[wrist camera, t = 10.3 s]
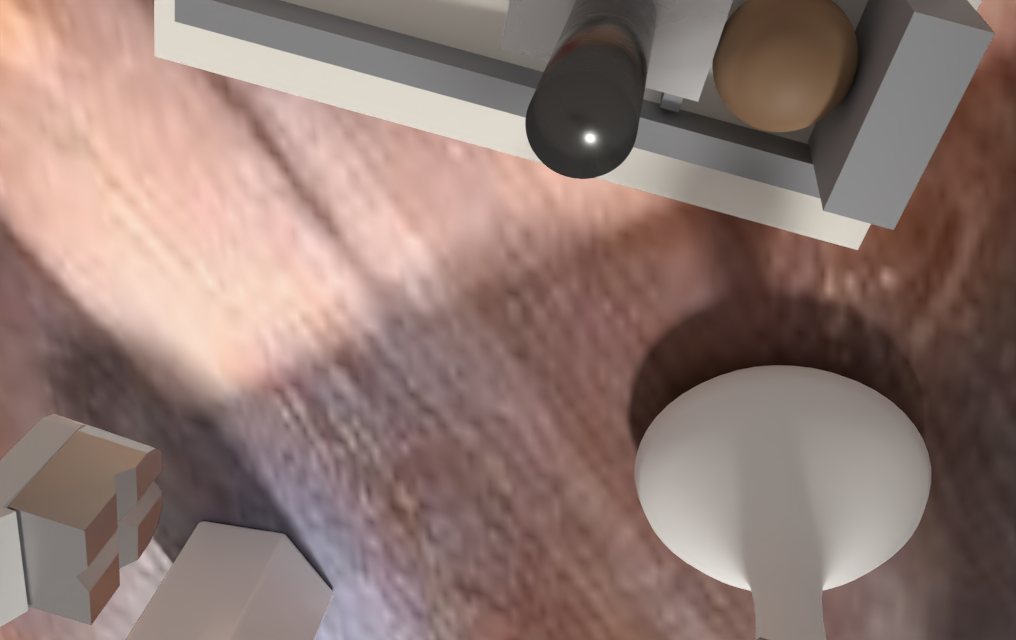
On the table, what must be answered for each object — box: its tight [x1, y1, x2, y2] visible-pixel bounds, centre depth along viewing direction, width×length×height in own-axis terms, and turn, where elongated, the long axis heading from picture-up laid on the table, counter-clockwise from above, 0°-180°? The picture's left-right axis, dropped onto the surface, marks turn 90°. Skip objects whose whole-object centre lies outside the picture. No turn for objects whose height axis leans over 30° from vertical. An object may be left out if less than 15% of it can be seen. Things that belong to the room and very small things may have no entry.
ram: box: [500, 0, 733, 179], centre depth 24 cm, size 6×3×10 cm, turn 78°
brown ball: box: [712, 0, 858, 132], centre depth 27 cm, size 4×4×4 cm
